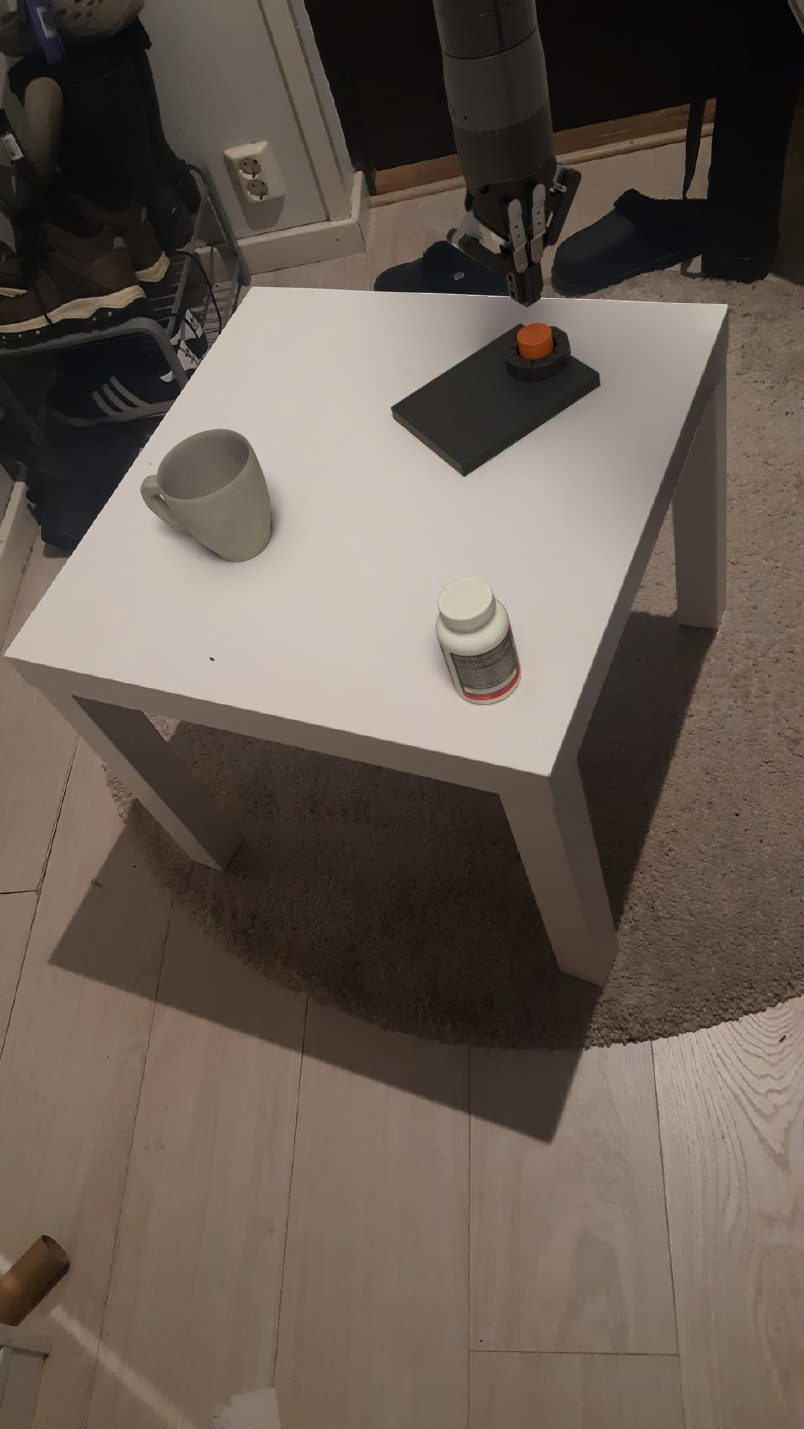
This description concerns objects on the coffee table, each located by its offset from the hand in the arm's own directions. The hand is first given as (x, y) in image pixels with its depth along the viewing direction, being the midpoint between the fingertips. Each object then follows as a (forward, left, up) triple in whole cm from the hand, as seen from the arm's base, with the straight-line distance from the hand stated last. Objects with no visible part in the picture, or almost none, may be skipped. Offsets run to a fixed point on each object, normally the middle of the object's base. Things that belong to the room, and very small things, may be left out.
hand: (528, 300), depth 89 cm
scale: (+4, +4, -8) cm, 10 cm away
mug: (+27, +21, -8) cm, 35 cm away
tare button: (0, 0, -5) cm, 5 cm away
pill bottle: (0, +36, -8) cm, 37 cm away
